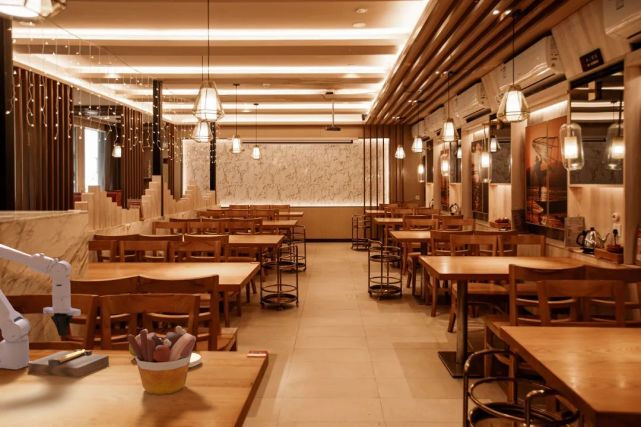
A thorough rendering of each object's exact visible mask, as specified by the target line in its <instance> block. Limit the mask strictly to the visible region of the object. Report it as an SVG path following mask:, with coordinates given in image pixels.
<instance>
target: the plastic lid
mask: <svg viewBox="0 0 641 427" xmlns="http://www.w3.org/2000/svg"><path fill="white" fill-rule="evenodd" d="M201 363H202V356H201V355H200V354H198V353H195V352H192V355H191V359H190V364H189V368H192V367H196V366H197V365H199V364H201Z"/></svg>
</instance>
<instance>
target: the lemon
mask: <svg viewBox="0 0 641 427" xmlns="http://www.w3.org/2000/svg"><path fill="white" fill-rule="evenodd" d="M137 336H138V335H136V336H134V337H135V339H136V340H138V339H137ZM128 351H129V354H130V355H131V356H133V357H135V356H136V354H135V352H134V351H133V349H132V347H131V345H130V343H129V345H128Z"/></svg>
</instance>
